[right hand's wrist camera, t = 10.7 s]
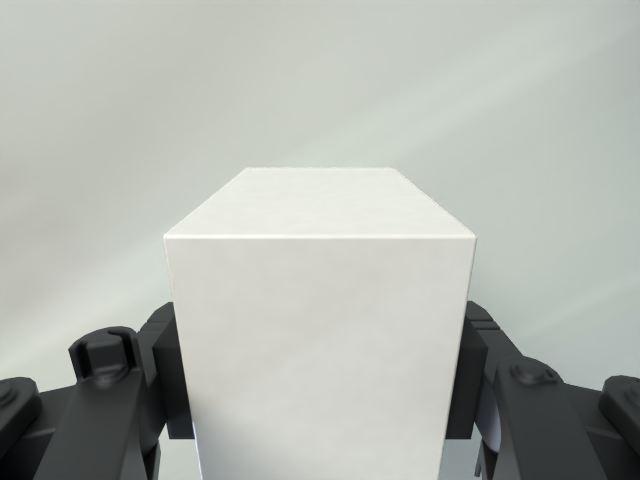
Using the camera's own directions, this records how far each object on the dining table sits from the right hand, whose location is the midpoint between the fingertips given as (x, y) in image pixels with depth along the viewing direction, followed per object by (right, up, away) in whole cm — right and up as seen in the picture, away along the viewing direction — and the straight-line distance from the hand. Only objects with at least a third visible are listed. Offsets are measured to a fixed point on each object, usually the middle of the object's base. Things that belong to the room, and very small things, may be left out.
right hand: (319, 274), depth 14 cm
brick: (0, 0, +1) cm, 1 cm away
